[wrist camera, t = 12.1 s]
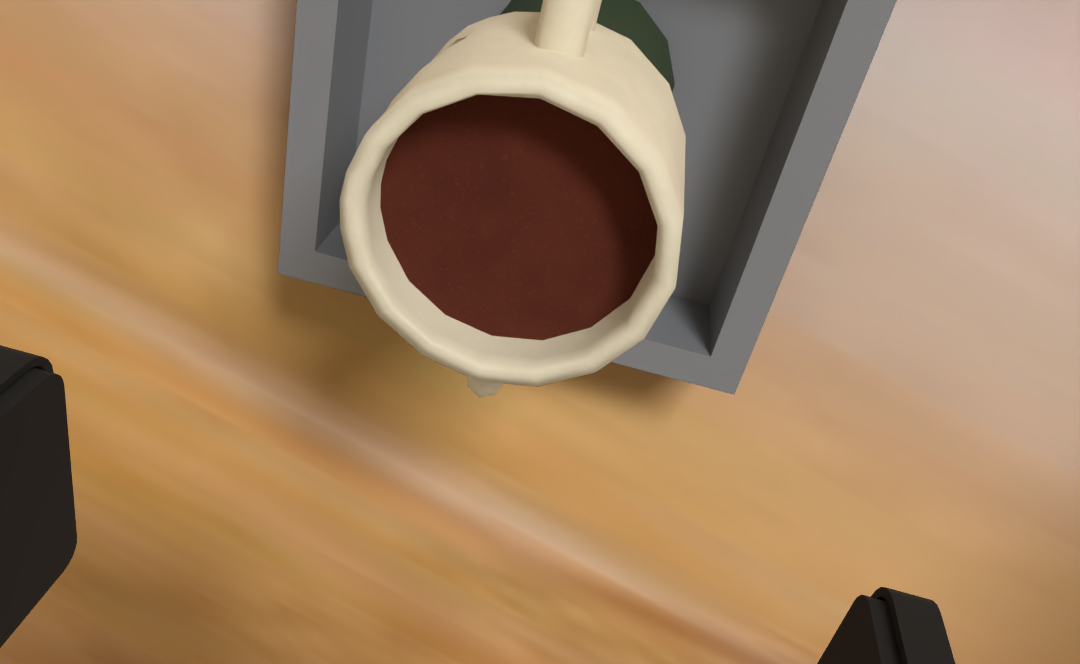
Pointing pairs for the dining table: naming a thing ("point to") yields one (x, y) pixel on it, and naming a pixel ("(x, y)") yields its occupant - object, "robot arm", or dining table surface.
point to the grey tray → (706, 115)
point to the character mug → (525, 194)
